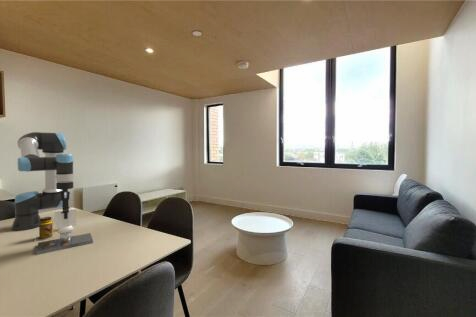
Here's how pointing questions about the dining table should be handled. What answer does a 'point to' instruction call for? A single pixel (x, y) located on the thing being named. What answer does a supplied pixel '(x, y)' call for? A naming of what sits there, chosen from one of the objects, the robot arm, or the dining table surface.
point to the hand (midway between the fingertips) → (65, 222)
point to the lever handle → (59, 221)
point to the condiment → (45, 229)
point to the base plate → (60, 245)
